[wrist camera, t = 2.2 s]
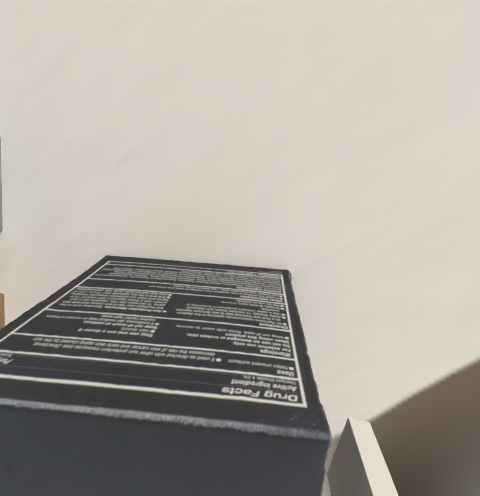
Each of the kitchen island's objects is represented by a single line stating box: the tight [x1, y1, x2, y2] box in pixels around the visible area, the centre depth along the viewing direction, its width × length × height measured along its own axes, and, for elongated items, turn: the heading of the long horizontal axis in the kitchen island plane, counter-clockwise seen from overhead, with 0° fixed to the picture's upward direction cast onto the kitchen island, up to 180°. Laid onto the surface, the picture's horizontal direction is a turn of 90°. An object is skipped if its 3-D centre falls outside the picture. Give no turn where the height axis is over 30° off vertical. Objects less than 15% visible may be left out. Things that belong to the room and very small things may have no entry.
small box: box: [0, 255, 332, 496], centre depth 13 cm, size 11×6×10 cm, turn 87°
